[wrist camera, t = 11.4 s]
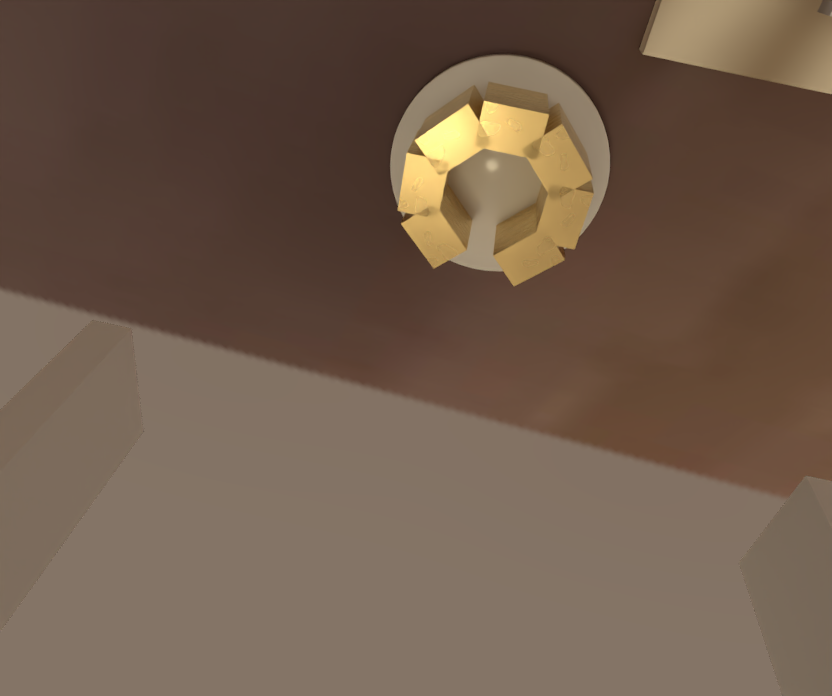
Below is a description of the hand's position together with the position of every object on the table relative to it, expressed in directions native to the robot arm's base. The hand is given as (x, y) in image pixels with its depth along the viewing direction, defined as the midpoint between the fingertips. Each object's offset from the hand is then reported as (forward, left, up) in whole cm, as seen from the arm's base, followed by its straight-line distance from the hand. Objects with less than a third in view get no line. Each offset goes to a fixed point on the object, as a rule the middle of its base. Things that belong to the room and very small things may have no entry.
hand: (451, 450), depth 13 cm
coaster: (0, 0, -17) cm, 17 cm away
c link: (0, 0, -17) cm, 17 cm away
